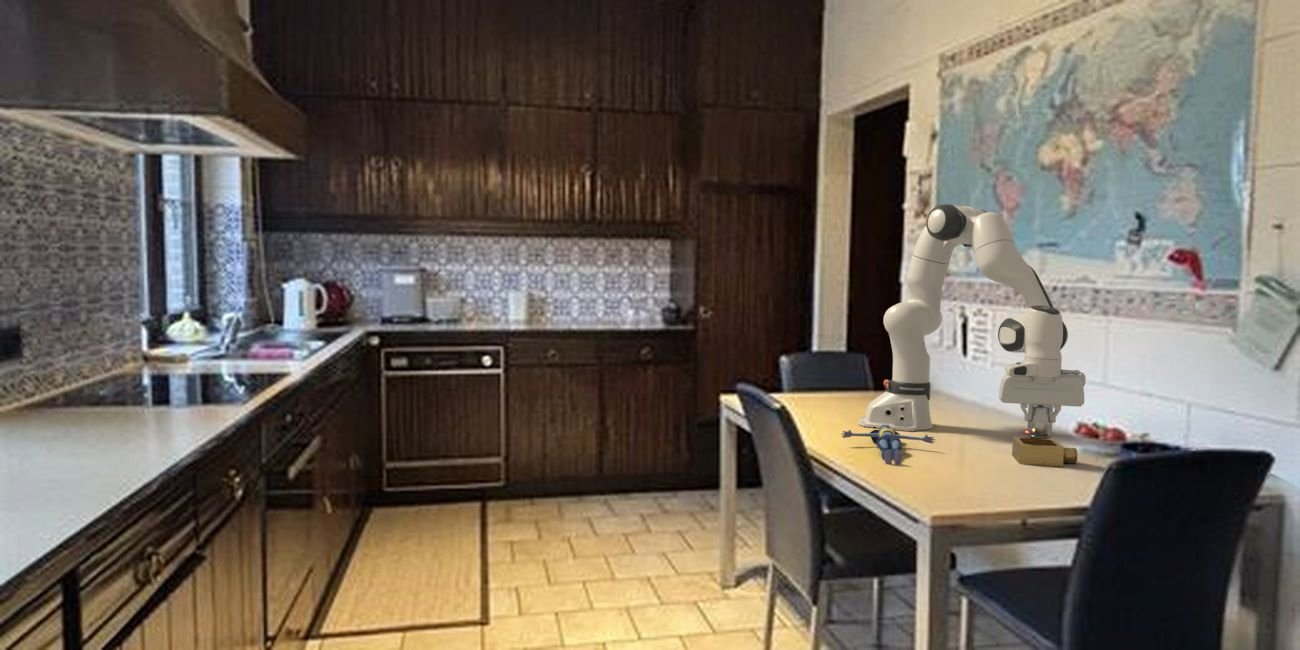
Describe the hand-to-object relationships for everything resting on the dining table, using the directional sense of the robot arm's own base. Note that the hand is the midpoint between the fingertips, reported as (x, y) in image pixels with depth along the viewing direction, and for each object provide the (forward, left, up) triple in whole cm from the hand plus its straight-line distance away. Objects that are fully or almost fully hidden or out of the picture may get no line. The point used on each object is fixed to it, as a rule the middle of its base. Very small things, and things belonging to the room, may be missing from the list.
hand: (1039, 421), depth 223 cm
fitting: (+2, +2, -10) cm, 11 cm away
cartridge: (0, 0, -4) cm, 4 cm away
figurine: (-38, -1, -11) cm, 39 cm away
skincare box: (+8, +39, -11) cm, 41 cm away
